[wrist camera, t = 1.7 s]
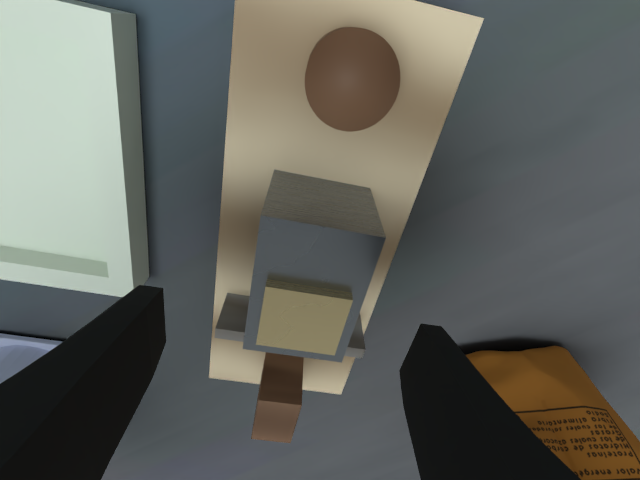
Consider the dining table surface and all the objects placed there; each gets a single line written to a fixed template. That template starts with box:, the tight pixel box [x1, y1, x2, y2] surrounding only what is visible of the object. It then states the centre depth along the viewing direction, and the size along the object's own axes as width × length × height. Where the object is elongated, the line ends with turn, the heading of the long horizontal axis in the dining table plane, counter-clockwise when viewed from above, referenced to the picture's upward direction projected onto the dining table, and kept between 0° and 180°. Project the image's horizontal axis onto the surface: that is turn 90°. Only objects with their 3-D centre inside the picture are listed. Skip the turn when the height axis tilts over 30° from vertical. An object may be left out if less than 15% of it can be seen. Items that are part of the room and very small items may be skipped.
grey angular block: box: [243, 169, 386, 363], centre depth 14 cm, size 6×4×4 cm, turn 168°
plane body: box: [209, 0, 484, 443], centre depth 16 cm, size 20×8×7 cm, turn 168°
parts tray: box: [0, 0, 149, 297], centre depth 16 cm, size 13×11×2 cm
